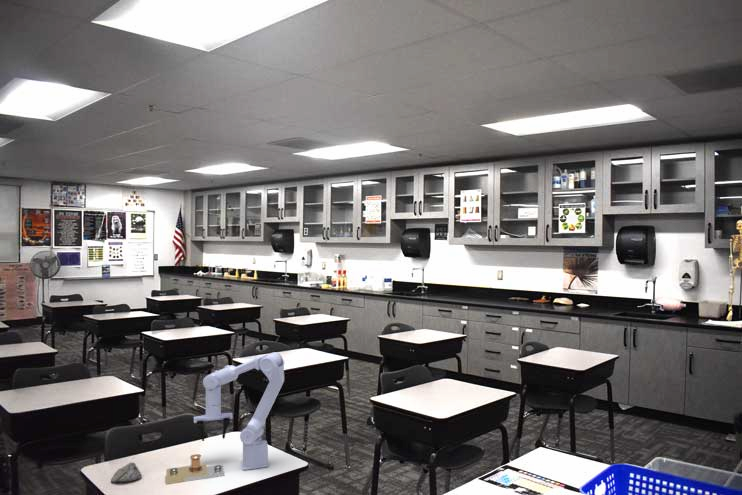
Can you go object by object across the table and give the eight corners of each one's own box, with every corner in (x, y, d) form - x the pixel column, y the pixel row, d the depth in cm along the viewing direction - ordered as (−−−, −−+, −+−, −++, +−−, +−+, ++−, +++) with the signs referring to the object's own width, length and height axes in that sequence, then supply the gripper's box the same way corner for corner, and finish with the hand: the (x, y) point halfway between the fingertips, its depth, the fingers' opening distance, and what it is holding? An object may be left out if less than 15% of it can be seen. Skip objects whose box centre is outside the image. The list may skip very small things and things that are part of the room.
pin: (200, 472, 198) (200, 453, 198) (201, 476, 195) (201, 457, 195) (190, 473, 197) (190, 455, 197) (190, 477, 193) (190, 458, 194)
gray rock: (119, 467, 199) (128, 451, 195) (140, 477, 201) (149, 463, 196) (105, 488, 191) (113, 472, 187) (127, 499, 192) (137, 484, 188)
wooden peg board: (222, 467, 203) (222, 458, 203) (224, 475, 195) (224, 466, 195) (166, 475, 196) (166, 466, 196) (166, 484, 188) (166, 474, 188)
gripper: (231, 399, 214) (231, 433, 214) (193, 403, 209) (193, 438, 209) (233, 404, 207) (233, 439, 207) (194, 408, 202) (194, 443, 202)
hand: (213, 438), depth 207 cm, fingers open, 7 cm apart
